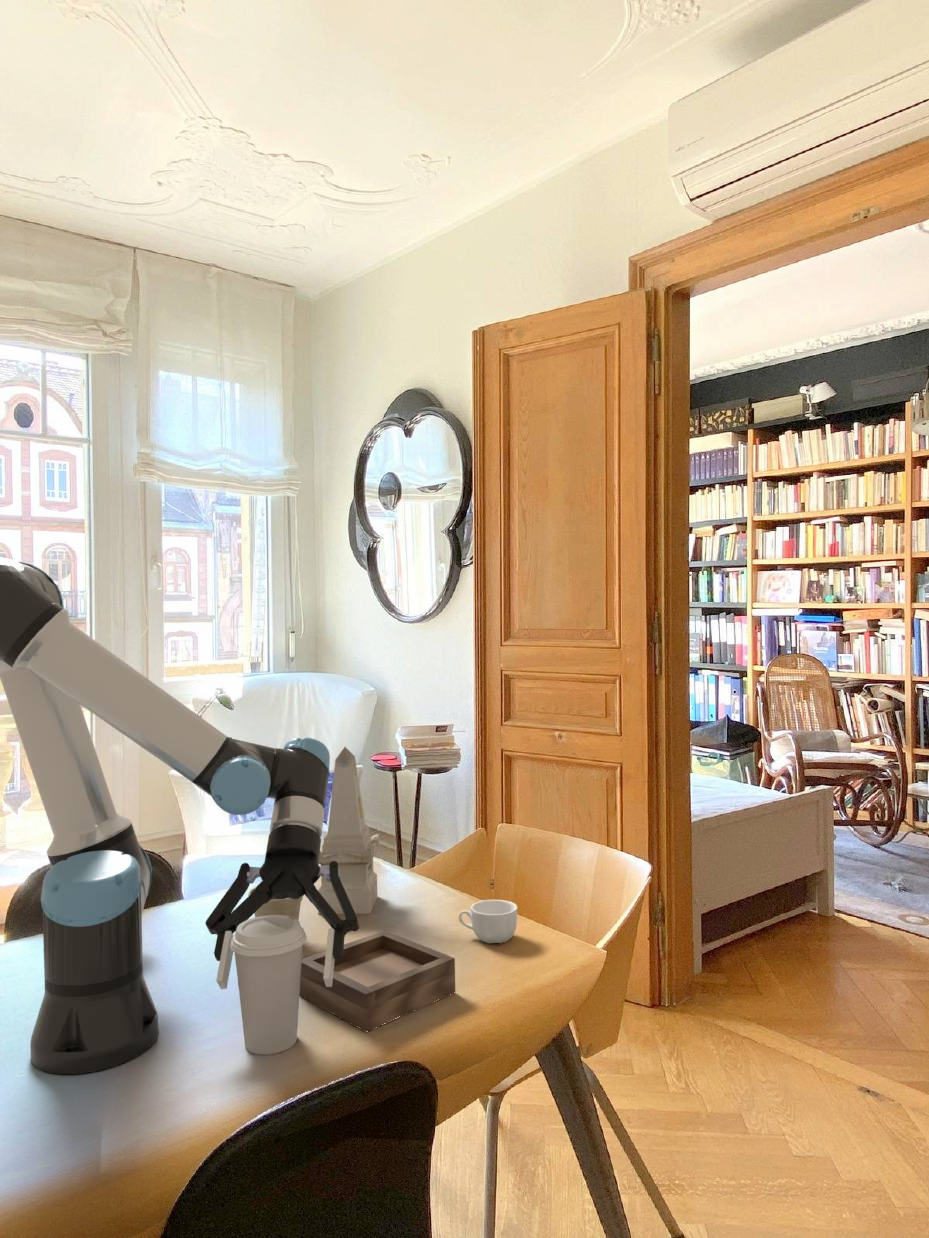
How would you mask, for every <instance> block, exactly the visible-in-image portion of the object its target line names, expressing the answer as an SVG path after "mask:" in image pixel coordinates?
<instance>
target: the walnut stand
mask: <svg viewBox="0 0 929 1238" xmlns="http://www.w3.org/2000/svg"><path fill="white" fill-rule="evenodd" d="M325 957H326V950H324V951H321V952H318V953H316V954H312V955H310V956H307V957H304V958H302V961H301V977H300V993H299V997H301V998H303V999H305V1000H307V1001H308V1002H310V1003H312V1004H314V1005H316V1006H317V1007H319V1006H320V1007H319V1008H321V1007H322V1008H321V1009H323V1010H325V1009H326V1010H325V1011H327V1012H328V1011H329V1013H330V1012H331V1014H332V1013H334V1014H335V1015H334V1014H333V1015H334V1016H336V1015H337V1016H336V1017H338V1016H339V1017H341V1018H342V1019H341V1018H340V1019H341V1020H343V1021H345V1020H346V1021H345V1022H347V1023H349V1024H350V1023H352V1024H353V1025H352V1024H351V1025H352V1026H354V1025H355V1026H354V1027H356V1026H358V1027H360V1028H361V1029H362V1031H363V1030H365V1031H369V1030H371V1031H373V1030H375V1029H377V1028H376V1027H378V1026H380V1025H382V1024H384V1023H387V1022H388V1021H391V1020H393V1019H395V1018H397V1017H399V1016H402V1015H405V1014H407V1013H409V1014H411V1013H413V1011H414V1010H416V1011H418V1010H420V1009H422V1008H421V1007H423V1006H425V1007H426V1005H427V1004H429V1005H431V1004H430V1003H432V1002H434V1001H436V1000H438V999H441V998H443V997H445V996H447V997H449V996H451V995H450V994H452V993H454V992H455V993H456V963H455V962H456V960H455V959H456V958H455V957H453V956H450V955H448V954H445V953H443V952H440V951H438V950H435V949H433V948H430V947H428V946H426V945H422V944H421V943H418V942H416V941H413V940H410V939H408V938H406V937H403V936H400V935H398V934H396V933H392V932H390V931H388V930H385V929H384V930H382V931H379V932H376V933H373V934H370V935H367V936H364V937H361V938H358V939H356V940H353V941H350V942H348V943H344V949H343V956H342V958H341V959H335V960H334V971H333V982H332V987H326V985H325V982H324V979H323V977H324V967H325ZM455 993H454V994H455ZM452 995H453V994H452ZM445 998H446V997H445ZM443 999H444V998H443ZM441 1000H442V999H441ZM438 1001H439V1000H438ZM436 1002H437V1001H436ZM434 1003H435V1002H434ZM432 1004H433V1003H432ZM427 1006H428V1005H427ZM419 1008H420V1009H419ZM423 1008H424V1007H423ZM417 1009H418V1010H417ZM410 1012H411V1013H410ZM414 1012H415V1011H414ZM407 1015H408V1014H407ZM405 1016H406V1015H405ZM339 1017H338V1018H339ZM402 1017H403V1016H402ZM393 1021H394V1020H393ZM391 1022H392V1021H391ZM387 1024H388V1023H387ZM384 1025H385V1024H384ZM382 1026H383V1025H382ZM358 1027H357V1028H358ZM380 1027H381V1026H380ZM374 1028H375V1029H374ZM378 1028H379V1027H378ZM361 1029H360V1030H361ZM365 1031H364V1032H365ZM369 1032H370V1031H369Z"/></svg>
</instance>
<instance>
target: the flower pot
mask: <svg viewBox="0 0 929 1238" xmlns="http://www.w3.org/2000/svg"><path fill="white" fill-rule="evenodd" d="M256 887H257V886H255V887H253V888H251V889H250V890H249V891H248V894H247V895H248V896H250V895H251V894H252V893H253V892H254V891H255V889H256ZM267 890H268V889H267ZM267 890H266V891H267ZM248 896H247V897H248ZM303 899H304V895H303V896H302V897H300V898H299V899H291V898H286V899H277V898H275V897H273V898H272V899H271V900H270V901H269V902H268V903H266V904H263V905H262V906H261V907H260V908H259V909H258V910H257V911H256V912H255V913H254V914H253V915H254V918H255V917H260V916H266V915H287V916H292V917H294V918H296V919H298V920H300V911H301V904H302V901H303Z"/></svg>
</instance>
